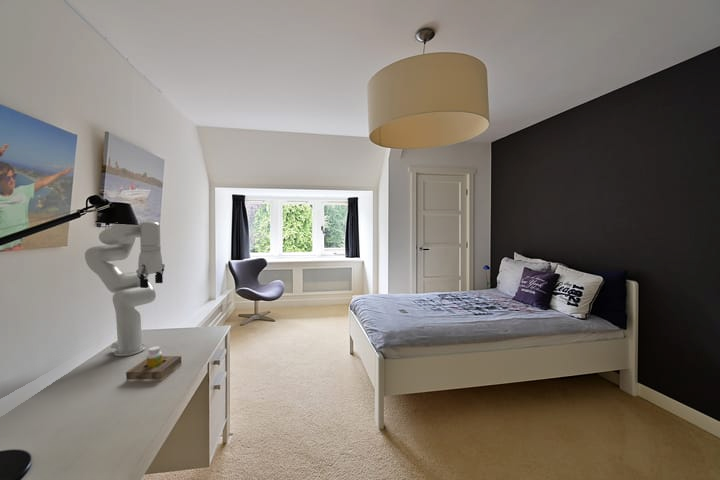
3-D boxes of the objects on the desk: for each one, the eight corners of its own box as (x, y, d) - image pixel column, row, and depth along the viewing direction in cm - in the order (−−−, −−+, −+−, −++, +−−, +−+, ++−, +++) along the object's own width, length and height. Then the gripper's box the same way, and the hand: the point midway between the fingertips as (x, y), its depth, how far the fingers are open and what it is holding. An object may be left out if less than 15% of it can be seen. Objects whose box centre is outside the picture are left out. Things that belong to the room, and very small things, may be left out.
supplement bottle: (155, 374, 124) (153, 351, 124) (144, 372, 125) (143, 350, 125) (166, 367, 129) (164, 346, 129) (155, 366, 131) (154, 345, 130)
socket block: (126, 381, 120) (126, 372, 120) (150, 365, 134) (149, 356, 134) (161, 381, 120) (161, 371, 120) (181, 364, 134) (181, 356, 134)
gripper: (155, 246, 146) (156, 281, 147) (128, 250, 128) (129, 289, 130) (170, 247, 146) (171, 281, 147) (145, 250, 128) (146, 289, 130)
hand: (151, 285), depth 138 cm, fingers open, 9 cm apart
